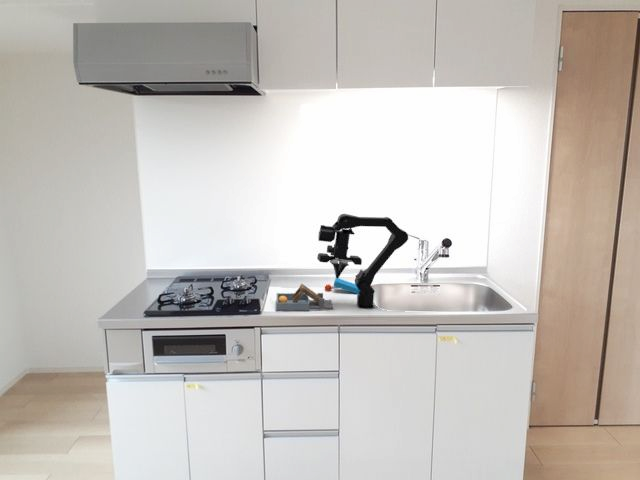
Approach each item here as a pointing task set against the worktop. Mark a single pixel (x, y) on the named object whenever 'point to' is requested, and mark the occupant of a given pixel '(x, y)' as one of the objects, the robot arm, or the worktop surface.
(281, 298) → the ball
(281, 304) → the bin
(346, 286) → the lever
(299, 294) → the brown wooden angled piece
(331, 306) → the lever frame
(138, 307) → the worktop surface
